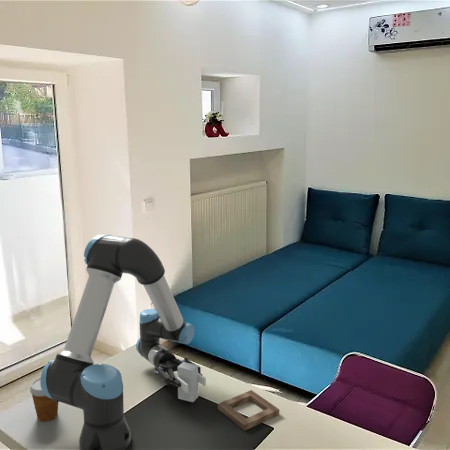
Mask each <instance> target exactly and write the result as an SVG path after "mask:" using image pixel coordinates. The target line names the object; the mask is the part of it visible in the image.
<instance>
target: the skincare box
mask: <svg viewBox="0 0 450 450" xmlns="http://www.w3.org/2000/svg"><path fill="white" fill-rule="evenodd" d="M194 364H195V363H194ZM194 364H190V363H186V362H183V363H182V364H180V365H179V366H178V367H177V369H178V372H177V377H179V378H181V379H182V380H183V381H184V382H186V383H187V384H188V392H187V393H186V392H185V391H184V390H182V389H181V388H180V387H177V399H179V400H182V401H187V402H190V403H194V402H195V401H196V399H198V398H199V382H198V366H199V365H198V364H196V365H194Z"/></svg>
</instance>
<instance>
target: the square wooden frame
mask: <svg viewBox="0 0 450 450" xmlns="http://www.w3.org/2000/svg"><path fill="white" fill-rule="evenodd" d="M249 402H251V403H253V404H254V405H256V406H257V407H258V408H259V409H260V410H261V409H262V411H259V412H257V413H256V414H253V415H251V416H249V417H245V416H243V415H242V414H241V413H239V412H238V411H237V410H236V409H234V408H237V407H239V406H240V405H243V404H246V403H249ZM217 410H218V411H219V412H220V413H222V414H223V415H225V416H226V417H227V418H228V419H229V420H231V421H232V422H233V423H234V424H236V425H237V426H238V427H239V428H240V429H242V430H243V431H247V430H249V429H252V428H253V427H256V426H258V425H261V424H263V423H265V422H267V421H268V420H271V419H273V418H275V417H278V416H279V415H280V409H279V408H278V407H277V406H275V405H273V404H272V403H271V402H269V401H268V400H266V399H265V398H264V397H262V396H261V395H259V394H258V393H256V392H255V391H254V390H252V389H251V390H250V389H249V390H248V391H245V392H244V393H240V394H238V395H236V396H233V397H230V398H229V399H225V400H224V401H221V402H219V403H217Z"/></svg>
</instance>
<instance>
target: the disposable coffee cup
mask: <svg viewBox="0 0 450 450" xmlns="http://www.w3.org/2000/svg"><path fill="white" fill-rule="evenodd" d="M40 378H41V377H39V378H37V379H34V380H33V381H32V382H31V384H30V387H29V392H30V394H31V397H32V401H33V404H34V409H35V413H36V418H37V420H38V421H40V422H42V423H43V422H51V421H53V420H54V419H56V418H57V417H58V415H59V412H58V411H59V402H57V401H54V400H53V399H51V398H49V397H47V396H46V395H45V394H44V393H43V391H42V389H41V385H40Z"/></svg>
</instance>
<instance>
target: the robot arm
mask: <svg viewBox="0 0 450 450" xmlns="http://www.w3.org/2000/svg"><path fill="white" fill-rule="evenodd" d="M83 257H84V259H83V260H84V263H85V264H86V265H87V266H86V268H85V269H86V270H85V271H86V273H87V274H88V277H87V281H86V284H85V286H84V290H83V292H82V296H81V298H80V301H79V304H78V307H77V309H76V310H77V311H76V313H75V315H74V318H73V322H72V324H71V327H70V331H69V334H68V336H67V339H66V342H65V345H64V347H63V349H62V350H59V351H58V352H57V353H56V355H55V358H53V359H50V360H49V361H48V362H47V363H46V364H45V365H44V366H43V368H42V370H41V374H40V377H39V378H40V385H41V389H42V391H43V393H44V394H45V395H46V396H47V397H49V398H51V399H53V400H54V401H57V402H58V403H59V402H60V403H62V404H65V405H68V406H71V407H74V408H77V409H80V410H82V411H83V425H82V428H81V432H80V435H79V438H78V442H79V443H78V444H79V450H127V448H128V447H129V446H130V444H131V441H132V436H131V435H132V434H131V429H130V427H129V424H128V422H127V420H126V418H125V412H124V411H125V410H124V383H123V376H122V373H121V371H120V370H119V369H118V368H117V367H115V366H113V365H110V364H106V363H101V364H99V363H97V364H96V363H95V364H94V360H93V358H92V354H93V351H94V348H95V344H96V341H97V338H98V335H99V332H100V329H101V327H102V323H103V320H104V317H105V314H106V311H107V308H108V305H109V302H110V299H111V295H112V293H113V289H114V286H115V285H116V283H118V282H120V281H121V279H122V276H123V274H129V275H132V276H133V277H134V278H136V280H137V282H138V283H139V284H140V285H142V286H143V287H144V289H145V291H146V293H147V295H148V297H149V299H150V302H151V303H152V306H153V307H154V308H148V309H144V310H142V311H141V312H140V313H139V322H138V324H139V339H137V341H136V344H135V348H136V351H137V353H139V355H140V356H141V357H142V358H144V359H145V360H147V361H148V362H149V363H150V364H151V365H152V366H154V375H155V376H157V377H159V378H160V380H162V381H163V382H164V384H165V385H166V386H170V385H171V386H172V387H177V388H178V387H180V388H181V389H182V390H184V391H185V392H186V393H187V392H188V384H187V383H186V382H184V381H183V380H182V379H181V378H179V377H178V376H177V377H176V375H175V373H174V372H177V373H178V369H177V367H178V366H179V365H180V364H182V363H183V362H186V363H190V364H194V365H197V364H196V363H194V362H192V361H191V360H189V358H188V357H184V358H183V359H182V360H181V359H179V358H177V357H176V356H175V354H174V353H173V352H171V351H170V350H169V349H167V348H166V347H165V346H163V345H161V343H160V341H161V340H160V339H163V340H167V341H171V342H175V343H178V344H186V345H187V344H190V343H191V342H192V341H193V339H194V336H195V326H194V325H193V324H191V323H189V322H186V321H185V320H184V318H183V315H182V313H181V311H180V308H179V306H178V304H177V301H176V300H175V298H174V295H173V293H172V290H171V288H170V286H169V284H168V281H167V279H166V277H165V273H166V270H165V267H164V265H163V262H162V261H161V259H160V257H159V256H158V254H157V253H156V252H155V251H154V249H153V248H151V246H149V245H148V244H147V243H146V242H144V241H143V240H140V239H138V238H134V237H126V236H119V235H113V234H98V235H96V236H94V237H92V238H91V239H90V240H89V241H88V243H86V246H85V248H84V252H83ZM201 368H202V367H201V366H199V365H198V384H200V385H201V386H203V387H206V385H207V384H206V383H207V380H206V379H207V378H206V377H204V376H203V374H202V373H201Z"/></svg>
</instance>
